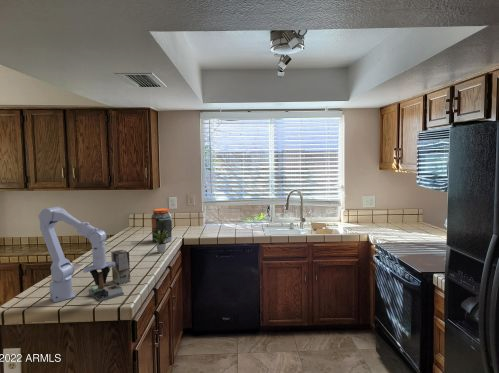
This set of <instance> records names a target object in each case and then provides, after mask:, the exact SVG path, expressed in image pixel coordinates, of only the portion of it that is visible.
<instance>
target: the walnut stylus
mask: <svg viewBox="0 0 499 373" xmlns="http://www.w3.org/2000/svg"><path fill="white" fill-rule="evenodd" d="M98 272H99V274H98V282H99V285H97V286H98V289H103V288H104V287H105V284H104V277H103V272H102V271H98Z"/></svg>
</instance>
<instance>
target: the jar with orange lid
mask: <svg viewBox="0 0 499 373" xmlns="http://www.w3.org/2000/svg"><path fill="white" fill-rule="evenodd" d="M150 218H151V233H152V234H151V235H152V236H151V237H152V238H156V239H157V240H158V238H157V236H156V235H155V234H158V233H157V232H158V231H159V232H161V235H162V233H163V231H164V230H165V231H164V233H165V232H166V231H167V232H166V234H165V235H164V236H166V235H168V236H166V237H165V239H167V238H168V237H169V238H170V239H167V240H165V241H164V242H165V243H169V242H171V241H172V240H173V221H172V220H173V219H172V214H171V213H170V209H169V208H156V209H155V208H154V209H153V210H152V214H151V217H150ZM169 232H170V234H168V233H169ZM154 233H155V234H154ZM171 234H172V235H171ZM152 238H151V239H152ZM156 239H152V242H154V243H155V244H156V243H159V242H158V241H157V242H156Z"/></svg>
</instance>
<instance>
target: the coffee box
mask: <svg viewBox="0 0 499 373" xmlns="http://www.w3.org/2000/svg"><path fill="white" fill-rule="evenodd" d="M110 254H111V256H110V258H111V262H115V266H114V267H113V266H112V267H111V272H112V273H111V274H112V281H113V282H115V283H116V284H119V285H121V284H124V283H129V282H131V270H130V268H131V267H130V252H129V251H127V250H123V249H118V250H114V251H111V252H110Z"/></svg>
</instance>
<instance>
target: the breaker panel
mask: <svg viewBox="0 0 499 373" xmlns="http://www.w3.org/2000/svg"><path fill="white" fill-rule="evenodd" d="M88 295H89V296H91V297H93V299H95V300H97V301H98V302H102V301H106V300H109V299H112V298H116V297H120V296H123V295H125V293H124V291H123V287H122V286H120V285H118V283H116V284H113V285H109V286H104V288H103V289H102V290H101V291H97V292H93V291H92V288H90V289H88Z"/></svg>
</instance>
